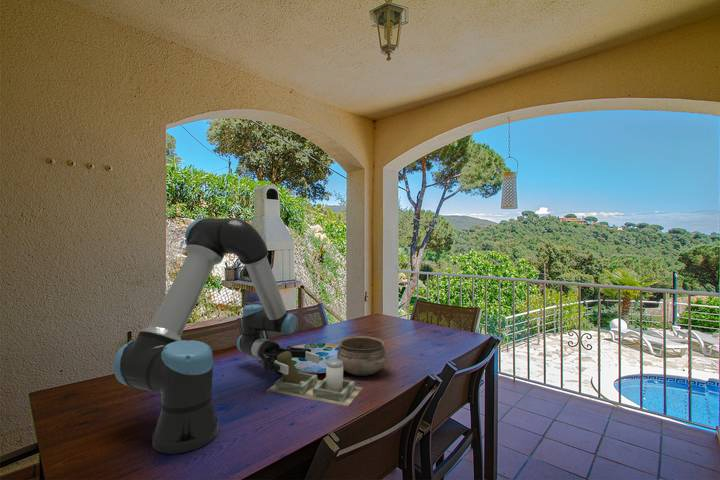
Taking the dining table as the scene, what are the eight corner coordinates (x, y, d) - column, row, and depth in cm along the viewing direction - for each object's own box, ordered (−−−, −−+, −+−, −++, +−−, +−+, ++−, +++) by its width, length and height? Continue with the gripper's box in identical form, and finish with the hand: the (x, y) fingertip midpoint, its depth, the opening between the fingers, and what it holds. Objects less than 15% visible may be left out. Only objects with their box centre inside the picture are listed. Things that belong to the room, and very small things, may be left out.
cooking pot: (402, 377, 129) (402, 344, 129) (367, 392, 115) (368, 356, 115) (356, 359, 147) (357, 331, 147) (321, 370, 133) (322, 339, 133)
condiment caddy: (347, 410, 103) (347, 398, 103) (266, 393, 113) (266, 382, 113) (362, 391, 116) (362, 380, 116) (288, 377, 126) (288, 367, 126)
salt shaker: (338, 397, 108) (339, 365, 108) (322, 394, 110) (323, 363, 110) (345, 390, 114) (346, 359, 114) (330, 387, 115) (330, 357, 115)
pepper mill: (299, 385, 113) (288, 354, 112) (282, 389, 114) (271, 359, 113) (303, 376, 119) (293, 347, 118) (287, 380, 120) (277, 351, 119)
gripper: (292, 352, 138) (329, 365, 124) (235, 369, 118) (272, 387, 105) (292, 333, 138) (330, 345, 124) (236, 348, 118) (273, 363, 105)
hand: (303, 364), depth 114 cm, fingers open, 13 cm apart
